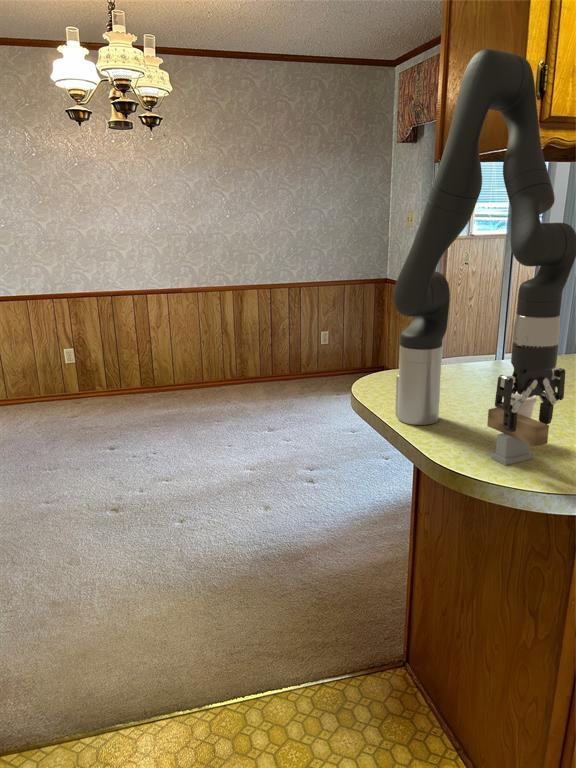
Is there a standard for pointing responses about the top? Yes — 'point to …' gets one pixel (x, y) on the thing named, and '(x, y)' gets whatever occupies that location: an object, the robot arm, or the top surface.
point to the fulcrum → (511, 450)
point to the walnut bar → (520, 427)
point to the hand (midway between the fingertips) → (527, 426)
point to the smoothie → (526, 406)
